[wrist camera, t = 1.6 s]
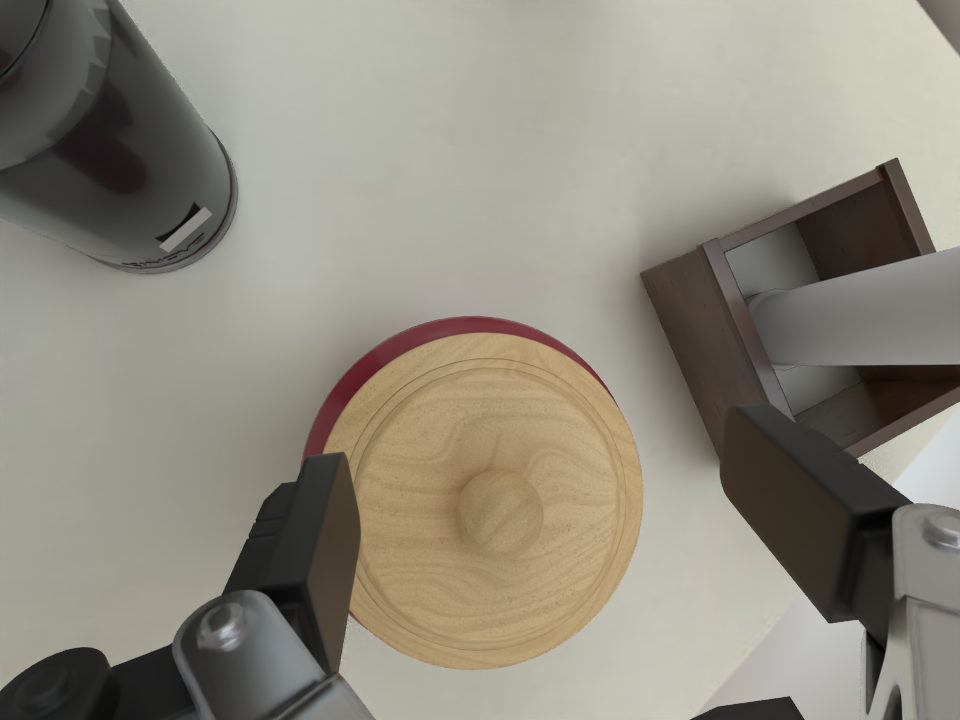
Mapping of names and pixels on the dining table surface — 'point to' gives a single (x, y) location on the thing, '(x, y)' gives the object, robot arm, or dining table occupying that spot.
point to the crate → (835, 252)
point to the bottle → (866, 316)
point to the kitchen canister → (482, 490)
